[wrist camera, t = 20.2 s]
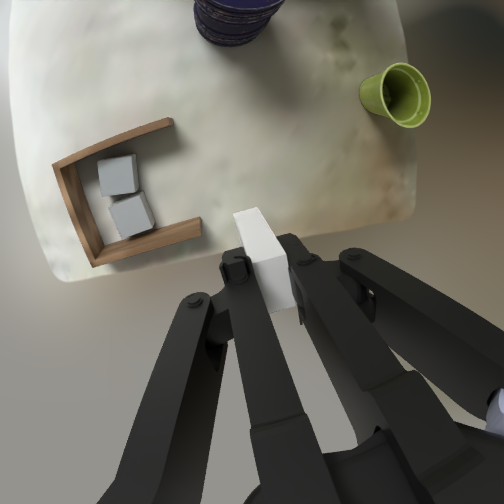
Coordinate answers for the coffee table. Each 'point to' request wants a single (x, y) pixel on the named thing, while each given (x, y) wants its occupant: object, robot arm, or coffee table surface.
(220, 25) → the storage jar
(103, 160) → the tile
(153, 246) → the frame
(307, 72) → the coffee table surface
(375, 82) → the plant pot
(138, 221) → the tile
